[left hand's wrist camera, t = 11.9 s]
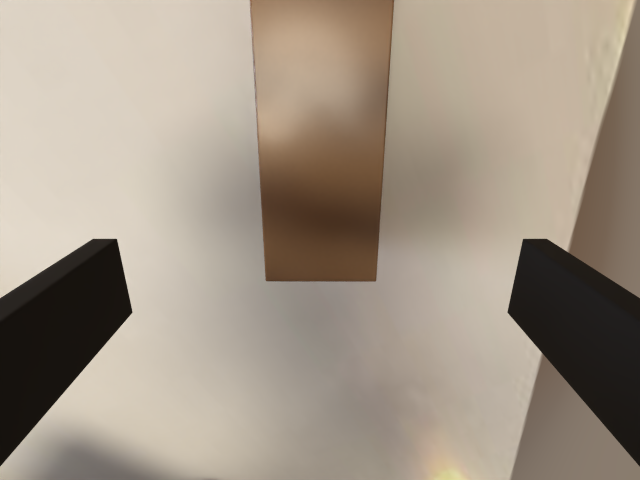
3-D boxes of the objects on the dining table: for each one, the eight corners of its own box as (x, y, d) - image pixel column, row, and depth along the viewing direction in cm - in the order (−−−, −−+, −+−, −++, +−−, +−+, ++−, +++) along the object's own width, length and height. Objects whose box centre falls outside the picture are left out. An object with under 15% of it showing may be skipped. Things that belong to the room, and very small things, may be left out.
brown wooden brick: (267, -105, 20) (236, -222, 13) (375, -105, 20) (408, -222, 13) (280, 230, 27) (265, 281, 20) (360, 230, 27) (376, 281, 20)
